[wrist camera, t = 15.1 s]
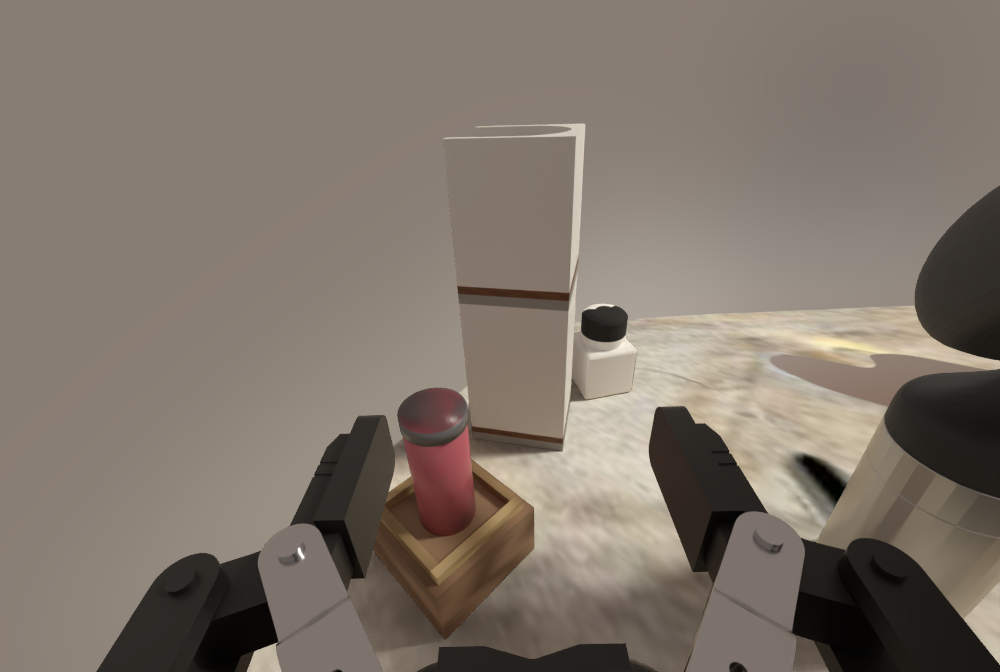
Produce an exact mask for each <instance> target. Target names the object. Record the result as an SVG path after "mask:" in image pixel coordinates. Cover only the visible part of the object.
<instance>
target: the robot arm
mask: <svg viewBox="0 0 1000 672" xmlns="http://www.w3.org/2000/svg"><path fill="white" fill-rule="evenodd" d="M915 308H916V312H917V316H918V319H919V321H920V323H921V325H922V327H923V328H924V329H925V330H926V331H927V332H928V334H929V335H930V336H931V337H933V338H934V339H936V340H937V341H939V342H941V343H942V344H944V345H946V346H948V347H951V348H953V349H956V350H959V351H962V352H966V353H969V354H972V355H976V356H979V357H984V358H989V359H993V360H1000V186H998V187H997V188H995V189H994V190H992V191H991V192H989V193H988V194H987V195H986V196H984V197H983V198H982V199H980V200H979V201H978V202H977V203H976V204H974V205H973V206H972V207H971V208H969V209H968V210H967V211H966V212H965V213H964V214H963V215H962V216H961V217H960V218H959V219H958V220H957V221H956V222H955V223H954V224H953V225H952V226H951V227H950V228H949V229H948V230H947V231H946V233H945V234H944V235H943V236H942V237H941V239H940V240H939V241H938V242H937V244H936V245H935V247H934V248H933V250H932V251H931V253H930V255H929V256H928V258H927V260H926V262H925V264H924V266H923V268H922V270H921V272H920V274H919V277H918V280H917V284H916V289H915ZM649 458H650V463H651V466H652V469H653V471H654V474H655V477H656V479H657V482H658V484H659V487H660V489H661V492H662V494H663V497H664V500H665V502H666V505H667V507H668V510H669V512H670V515H671V517H672V520H673V523H674V525H675V528H676V530H677V533H678V535H679V538H680V540H681V543H682V546H683V548H684V551H685V553H686V556H687V558H688V561H689V563H690V566H691V569H692V571H693V572H708V573H709V575H710V578H711V580H712V582H713V584H712V587H711V589H710V592H709V595H708V598H707V601H706V604H705V607H704V610H703V613H702V616H701V619H700V622H699V625H698V628H697V631H696V634H695V637H694V640H693V643H692V646H691V649H690V652H689V655H688V657H687V660H686V663H685V666H684V669H683V672H792V671H793V664H794V658H795V652H796V643H797V637H796V635H798V636H801V637H804V638H807V639H810V640H814V642H815V644H816V646H817V648H818V650H819V652H820V654H821V656H822V658H823V660H824V662H825V664H826V666H827V668H828V670H829V672H1000V665H999V663H998V662H997V661H996V660H995V658H994V657H993V656H992V655H991V653H990V652H989V651H988V650H987V648H986V647H985V646H984V645H983V643H982V642H981V641H980V640H979V638H978V637H977V636H976V635H975V633H974V632H973V631H972V630H971V628H970V627H969V626H968V625H967V623H966V622H965V621H964V620H963V619H964V618H965V617H966V616H967V615H968V614H969V613H970V612H971V611H972V610H973V609H974V608H975V607H976V606H977V605H978V604H979V603H980V602H981V601H982V599H983V598H984V597H985V596H986V595H987V594H988V593H989V592H990V591H991V590H992V589H993V588H994V587H995V586H996V585H997V584H998V583H999V582H1000V369H997V370H989V371H977V372H957V373H939V374H931V375H925V376H921V377H918V378H915V379H913V380H911V381H909V382H907V383H906V384H904V385H903V386H902V387H901V388H900V389H899V390H898V391H897V393H896V395H895V396H894V398H893V399H892V401H891V403H890V405H889V407H888V409H887V411H886V413H885V415H884V417H883V418H882V420H881V422H880V424H879V426H878V428H877V430H876V431H875V433H874V435H873V437H872V439H871V441H870V443H869V445H868V447H867V449H866V451H865V453H864V454H863V456H862V458H861V460H860V462H859V464H858V466H857V467H856V469H855V471H854V473H853V475H852V477H851V479H850V480H849V482H848V484H847V486H846V488H845V490H844V492H843V493H842V495H841V497H840V499H839V501H838V503H837V505H836V506H835V508H834V510H833V512H832V514H831V516H830V518H829V519H828V521H827V523H826V525H825V527H824V528H823V530H822V532H821V534H820V536H819V538H818V539H817V541H816V542H812V541H809V540H805V539H803V538H800V537H799V535H798V534H797V533H796V532H795V530H793V529H792V528H791V527H790V526H789V525H788V524H787V523H785V522H784V521H782V520H781V519H779V518H777V517H775V516H772V515H770V514H768V513H767V511H766V510H765V508H764V506H763V505H762V503H761V501H760V500H759V498H758V497H757V495H756V493H755V492H754V490H753V489H752V487H751V485H750V484H749V482H748V480H747V479H746V477H745V476H744V474H743V472H742V471H741V469H740V467H739V466H737V463H736V461H735V459H734V458H733V456H732V454H730V453H729V450H728V448H727V446H726V445H725V443H724V442H723V440H722V438H721V437H720V436H719V435H718V434H717V433H716V432H715V431H713V430H712V429H711V428H710V427H709V426H707V425H706V424H705V423H704V424H695V422H694V420H693V419H692V417H691V415H690V413H689V412H688V410H687V408H686V407H684V406H675V407H657V409H656V411H655V415H654V421H653V426H652V432H651V437H650V442H649ZM394 467H395V454H394V449H393V444H392V440H391V436H390V432H389V428H388V423H387V419H386V417H385V416H384V415H372V416H358V417H357V419H356V421H355V423H354V426H353V428H352V430H351V433H350V434H340V435H339V436H338V437H337V438H336V439H335V440H334V441H333V442H332V443H331V444H330V445H329V446H328V447H327V449H326V451H325V453H324V455H323V457H322V459H321V462H320V465H319V466H318V468H317V470H316V472H315V474H314V475H315V477H313V478H312V480H311V483H310V485H309V487H308V489H307V491H306V493H305V495H304V497H303V499H302V502H301V504H300V506H299V508H298V510H297V512H296V514H295V516H294V518H293V520H292V522H291V524H290V526H289V527H287V528H285V529H283V530H281V531H279V532H278V533H276V534H275V535H274V536H273V537H272V538H270V539H269V540H268V542H267V543H266V544H265V545H264V547H263V548H262V550H261V551H259V552H256V553H254V554H251V555H248V556H244V557H241V558H238V559H235V560H232V561H228V562H225V563H222V564H220V563H219V562H218V560H217V559H216V558H215V557H214V556H213V555H211V554H207V553H199V554H194V555H190V556H187V557H185V558H183V559H181V560H179V561H177V562H175V563H174V564H172V565H171V566H169V567H168V568H167V569H165V570H164V571H163V572H162V573H161V574H160V575H159V576H158V577H157V579H155V581H154V582H153V584H152V585H151V586H150V588H149V590H148V591H147V593H146V595H145V596H144V597H143V599H142V601H141V602H140V604H139V605H138V607H137V609H136V610H135V612H134V613H133V615H132V617H131V618H130V620H129V621H128V623H127V624H126V626H125V627H124V629H123V631H122V632H121V634H120V635H119V637H118V638H117V640H116V642H115V643H114V645H113V646H112V648H111V650H110V651H109V653H108V654H107V656H106V657H105V659H104V661H103V662H102V664H101V665H100V667H99V668H98V670H97V672H247V669H248V667H249V664H250V661H251V659H252V656H253V653H254V651H256V650H258V649H261V648H264V647H267V646H269V645H272V644H275V643H277V642H278V644H277V645H276V651H277V656H278V660H279V664H280V667H281V671H282V672H383V670H382V668H381V666H380V663H379V661H378V659H377V657H376V654H375V652H374V650H373V648H372V645H371V643H370V641H369V639H368V636H367V634H366V632H365V630H364V628H363V625H362V623H361V621H360V619H359V616H358V614H357V612H356V610H355V607H354V605H353V603H352V601H351V599H350V597H349V595H348V593H347V590H348V587H349V583H350V580H351V579H357V578H365V576H366V572H367V568H368V565H369V561H370V557H371V554H372V550H373V546H374V543H375V539H376V535H377V532H378V528H379V524H380V521H381V517H382V513H383V510H384V506H385V502H386V499H387V495H388V491H389V488H390V484H391V480H392V477H393V473H394ZM417 672H658V671H656V670H654V669H652V668H651V667H649V666H647V665H645V664H642V663H640V662H638V661H635V660H631V659H629V657H628V652H627V648H626V643H625V644H579V645H576V646H573V647H570V648H567V649H564V650H561V651H558V652H555V653H552V654H549V655H546V656H543V657H540V658H537V659H527V658H524V657H520V656H517V655H513V654H510V653H506V652H503V651H499V650H496V649H492V648H489V647H485V646H475V647H439V655H438V662H437V663H434V664H431V665H429V666H427V667H425V668H423V669H421V670H419V671H417Z"/></svg>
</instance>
